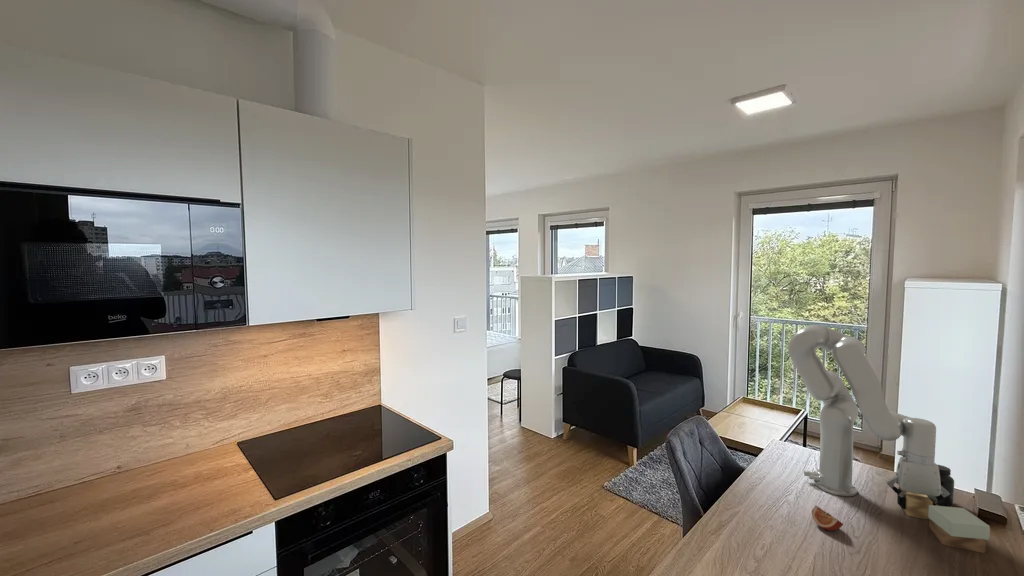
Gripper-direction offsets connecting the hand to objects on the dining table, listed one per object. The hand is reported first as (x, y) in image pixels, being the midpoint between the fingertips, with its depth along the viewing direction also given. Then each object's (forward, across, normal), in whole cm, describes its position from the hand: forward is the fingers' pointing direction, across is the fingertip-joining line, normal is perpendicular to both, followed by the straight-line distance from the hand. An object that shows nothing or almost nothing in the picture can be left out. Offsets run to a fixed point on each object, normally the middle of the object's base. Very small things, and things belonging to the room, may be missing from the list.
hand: (915, 509), depth 139 cm
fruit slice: (+1, -28, -21) cm, 35 cm away
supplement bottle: (+1, +10, +12) cm, 16 cm away
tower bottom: (+2, +5, -12) cm, 13 cm away
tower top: (-2, +5, -12) cm, 14 cm away
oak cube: (+1, 0, 0) cm, 1 cm away
